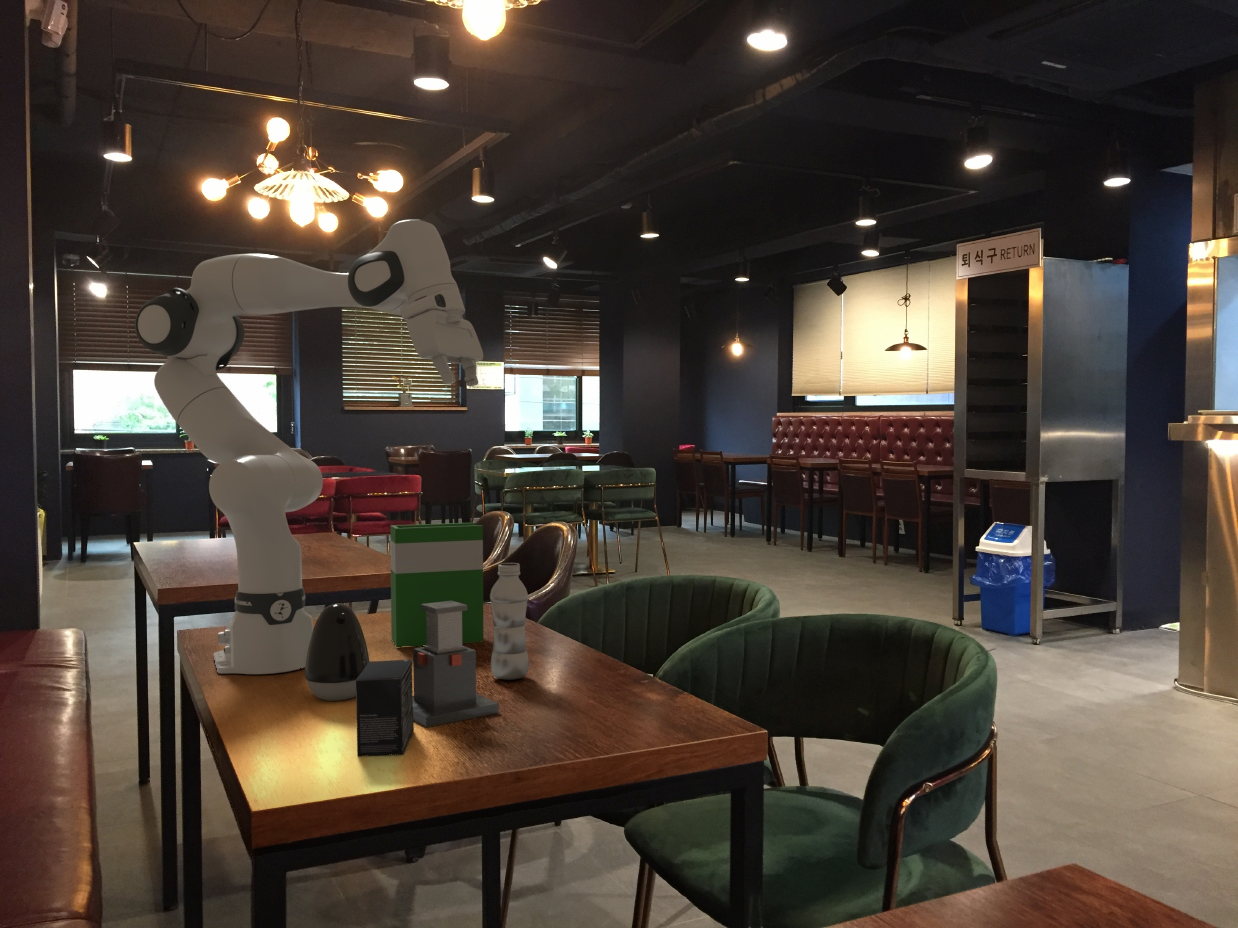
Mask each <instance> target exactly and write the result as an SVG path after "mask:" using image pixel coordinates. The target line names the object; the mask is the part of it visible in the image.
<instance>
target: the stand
mask: <svg viewBox="0 0 1238 928" xmlns="http://www.w3.org/2000/svg"><path fill="white" fill-rule="evenodd" d="M463 646H464V645H463ZM464 647H465V651H460V652H454V653H447V654H440V655H435V654H432V653H430V652H427V651H426V650H424V647H413V652H412V653H413V654H412V655H413V660H412V661H413V695H412V697H413V720H414V722H415V723H418V724H419V725H421V726H423V727H425V728H431V727H436V726H441V725H446V724H447V725H448V724H451V723H457V722H461V721H466V720H470V719H471V720H472V719H476V718H481V717H482V718H483V717H486V716H491V715H496V714H499V713H500V711H499V707H500V706H499V705H500V704H499V702H497V701H495V700H492V699H489V698H488V697H486V696H483V695H480V694H478V693H477V658H476V657H477V655H476V654H477V653H476V651H477V650H475V649H472V648H470V647H468V646H464Z"/></svg>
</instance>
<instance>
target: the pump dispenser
mask: <svg viewBox="0 0 1238 928" xmlns="http://www.w3.org/2000/svg"><path fill="white" fill-rule="evenodd" d="M366 642H367V641H366V638H365V634H364V632H363V629H362V625H361V623H360V620H359V619H358V617H357V615H356V614H355V612H354V610H352V608H351V607H350V606H349V605H346V604H344V603H332V604H330V605H328V606H326V607H325V608H323V610H322V612H320V614H319V616H318V618H317V619H316V622H315V624H314V625H313V632H312V636H311V639H310V643H309V647H308V652H307V657H306V664H305V667H304V678H305V679H304V680H306V682H307V685H308V689H310V692H311V693H312V694H313V695H314V696H315V697H317V698H318V699H321V700H323V701H329V702H339V701H340V702H341V701H346V700H349V699H353V698H354V697H356V679H357V678H358V677H359V675H360V674H361V673H362V671H363V670H364V668H365V667H366V666H367V664H368V663H369V662H370V661H371V660H370V656H369V650H368V645H367V643H366Z"/></svg>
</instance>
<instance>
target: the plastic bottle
mask: <svg viewBox="0 0 1238 928" xmlns="http://www.w3.org/2000/svg"><path fill="white" fill-rule="evenodd" d="M497 566H498V567H497V569H498V570H497V575H498V579H497V580H496V582H495V583H494V584H493V586H492V588H491V590H490V593H489V600H490V607H491V614H492V621H493V623H492V624H493V642H492V643H493V645H492V652H491V658H490V668H491V674H492V675H493V677H494V678H496V679H499V680H505V681H513V680H518V679H522V678H525V677H526V675H527V673H528V672H529V667H530V660H529V655H528V654H529V653H528V651H527V641H526V639H527V638H526V613H527V606H528V597H529V596H528V595H529V594H528V591H527V588H526V587H525V585H524V583H523V582H522V580H520V578H519V576H520V575H521V571H520V570H521V567H520V566H521V565H520V563H519V562H518V563H516V562H503V563H498V565H497Z"/></svg>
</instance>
